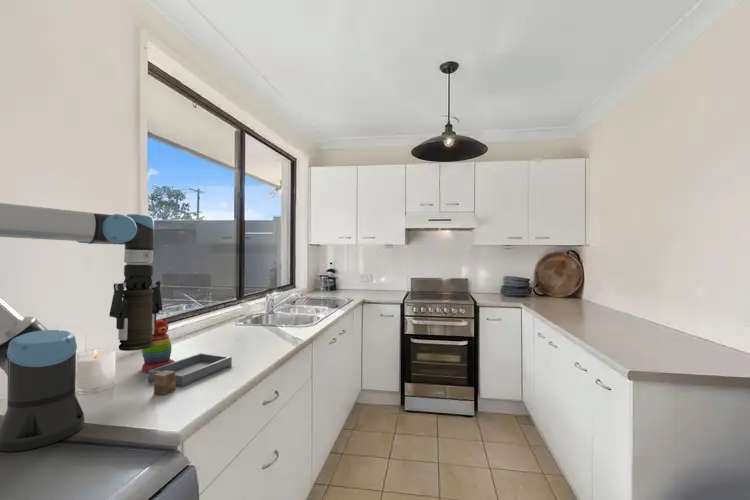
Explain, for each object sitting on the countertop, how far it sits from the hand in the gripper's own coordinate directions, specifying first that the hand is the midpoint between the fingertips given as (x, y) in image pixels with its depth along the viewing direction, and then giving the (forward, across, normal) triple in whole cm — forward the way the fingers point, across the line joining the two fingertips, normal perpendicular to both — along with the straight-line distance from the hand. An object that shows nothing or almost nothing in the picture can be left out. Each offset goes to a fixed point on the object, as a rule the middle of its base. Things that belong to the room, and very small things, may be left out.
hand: (136, 336), depth 109 cm
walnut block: (+17, +2, -10) cm, 20 cm away
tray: (+16, +18, -4) cm, 24 cm away
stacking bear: (+17, +19, +14) cm, 29 cm away
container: (+4, 0, 0) cm, 4 cm away
